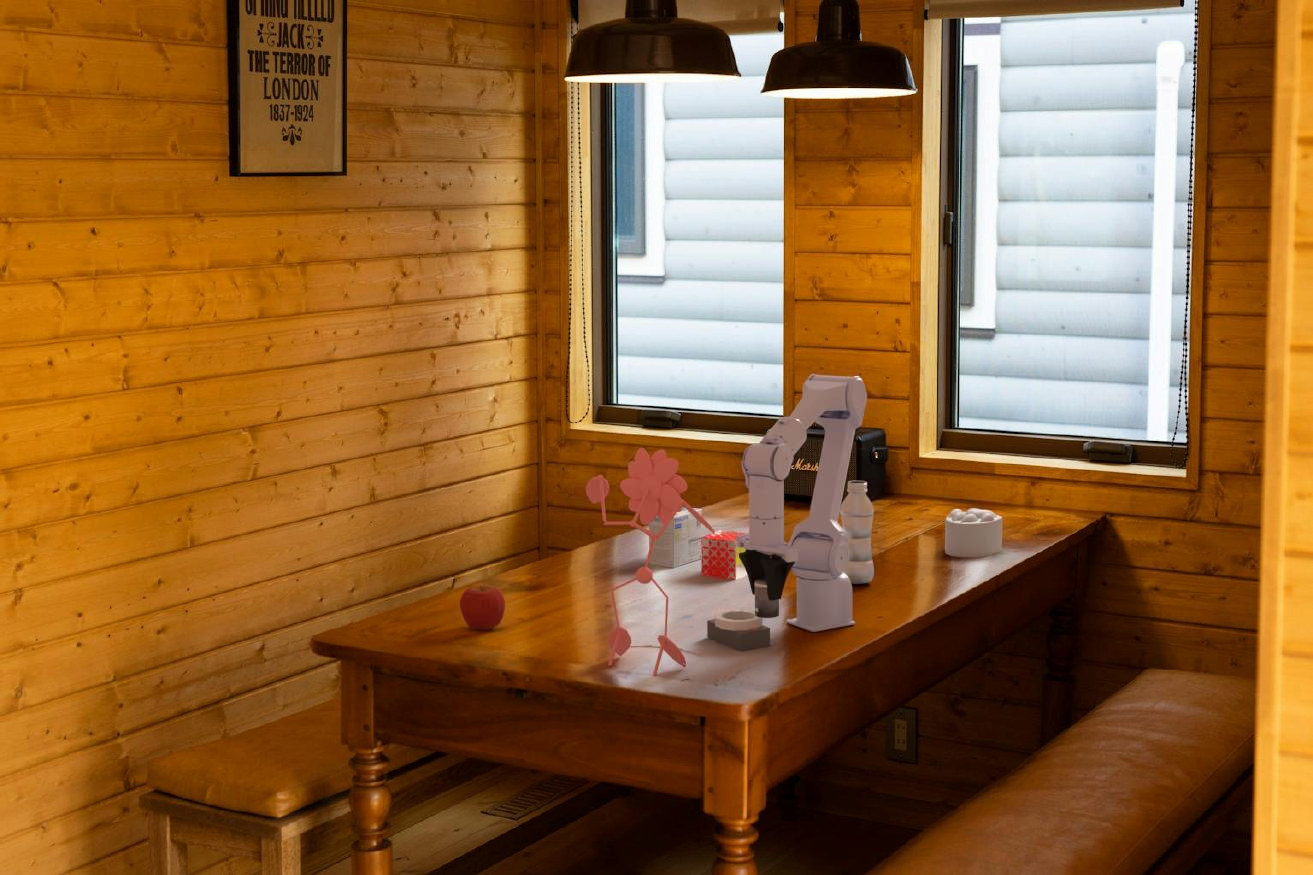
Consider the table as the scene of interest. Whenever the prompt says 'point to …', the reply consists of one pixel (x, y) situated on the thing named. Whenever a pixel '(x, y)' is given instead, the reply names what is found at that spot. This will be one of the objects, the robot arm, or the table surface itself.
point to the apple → (482, 607)
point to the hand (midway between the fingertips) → (766, 596)
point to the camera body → (738, 630)
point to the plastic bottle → (858, 532)
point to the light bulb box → (676, 540)
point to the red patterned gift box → (722, 555)
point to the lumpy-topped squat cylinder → (973, 533)
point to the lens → (764, 600)
